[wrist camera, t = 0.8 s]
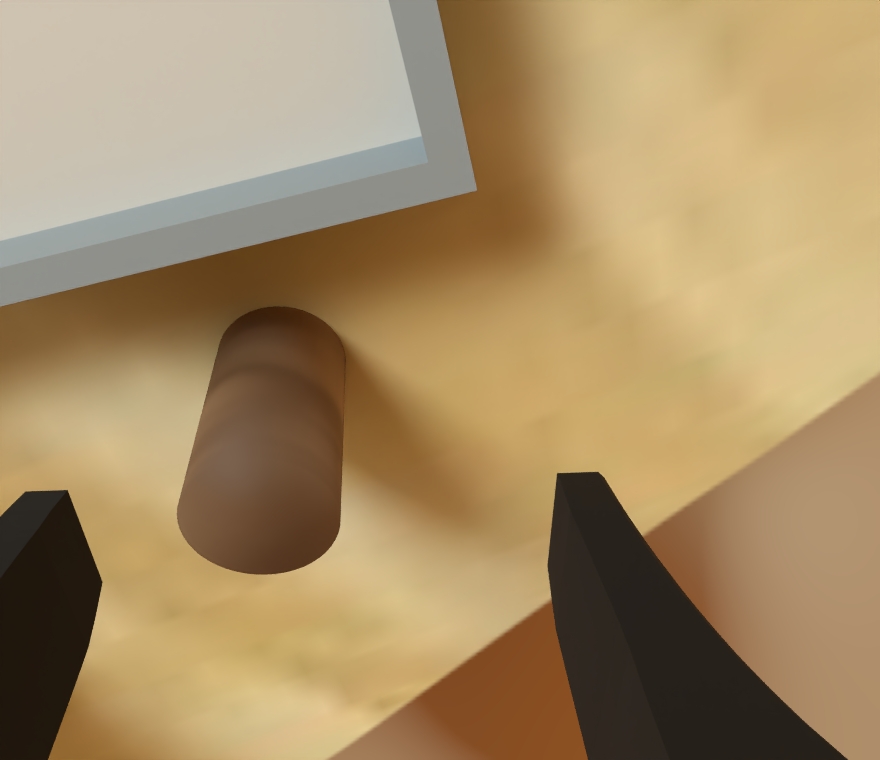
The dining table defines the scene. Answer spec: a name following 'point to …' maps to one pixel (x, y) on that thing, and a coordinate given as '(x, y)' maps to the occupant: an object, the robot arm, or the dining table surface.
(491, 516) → the dining table surface
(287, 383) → the peg
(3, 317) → the dining table surface
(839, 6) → the dining table surface
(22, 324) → the dining table surface
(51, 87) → the crate
